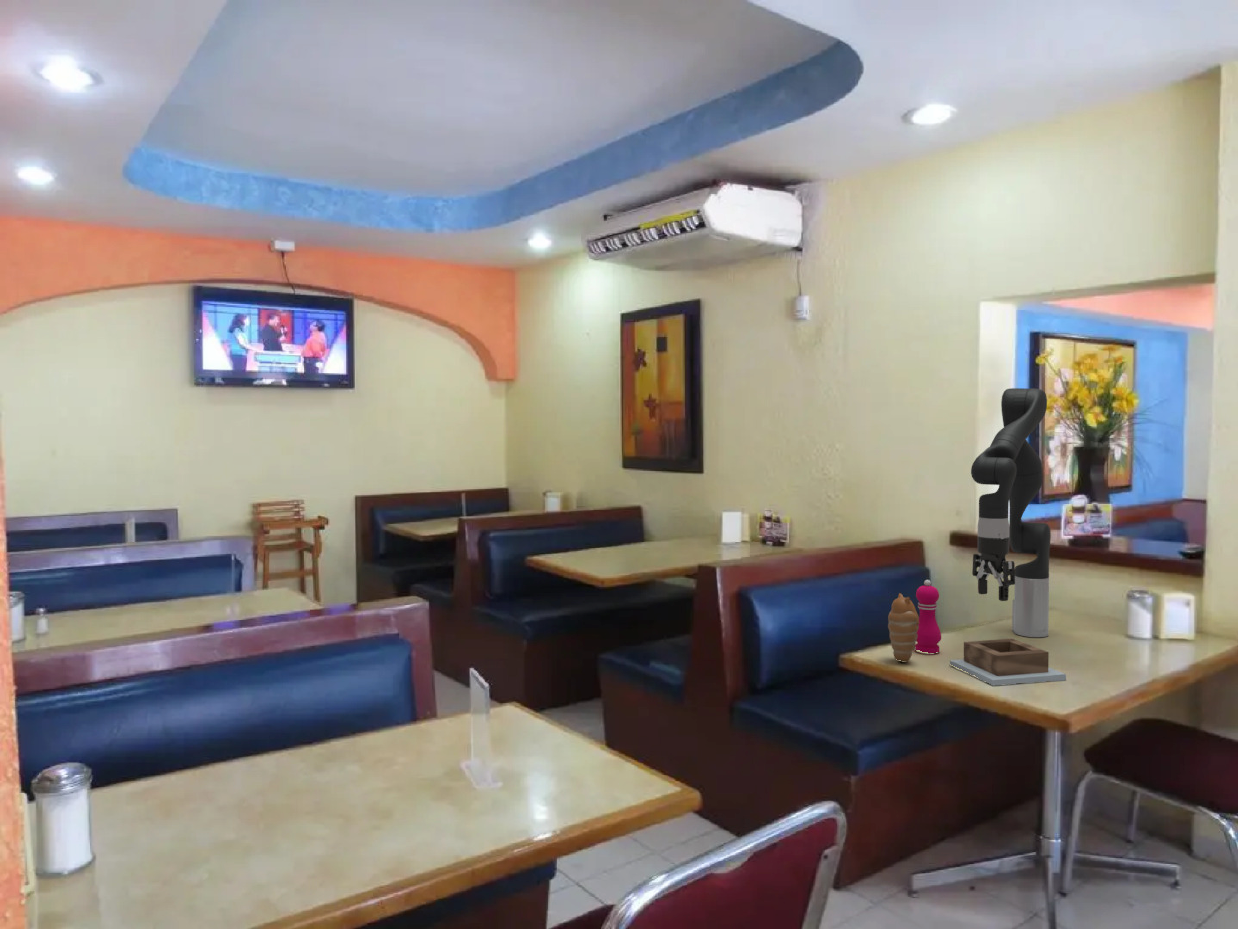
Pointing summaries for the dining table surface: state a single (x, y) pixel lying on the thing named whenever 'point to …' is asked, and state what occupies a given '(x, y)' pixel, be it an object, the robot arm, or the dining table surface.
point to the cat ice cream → (903, 627)
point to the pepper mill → (927, 619)
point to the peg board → (1010, 679)
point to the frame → (1006, 657)
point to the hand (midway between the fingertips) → (992, 597)
